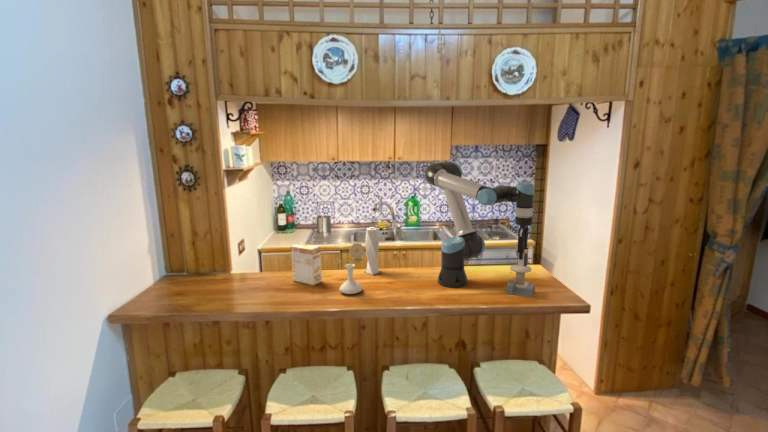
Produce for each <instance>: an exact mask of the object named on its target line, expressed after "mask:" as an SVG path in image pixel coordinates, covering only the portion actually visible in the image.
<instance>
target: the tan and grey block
mask: <svg viewBox="0 0 768 432" xmlns="http://www.w3.org/2000/svg"><path fill="white" fill-rule="evenodd" d="M516 253H517V254H518V252H517V251H516ZM528 256H529V249H528V250H526V249H525V250H524V266H528V263H529V262H528V259H529V257H528ZM516 260H517V262H516V265H517V266H518V257H517V259H516Z"/></svg>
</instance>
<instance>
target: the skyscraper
mask: <svg viewBox="0 0 768 432" xmlns="http://www.w3.org/2000/svg"><path fill="white" fill-rule="evenodd" d="M379 240H380V239H379V232H378V227H377V224H376V225H375V226H369V227H366V231H365V242H364V243H365V244H364V245H365V254H366V258H367V264H366V268H365V269H366V271H364V272H363V273H364V274H367V275H370V276H374V275H378V274H380V273H382V271H381V270H379V264H378V255H379V249H380V246H379V245H380V242H379Z"/></svg>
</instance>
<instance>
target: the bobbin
mask: <svg viewBox="0 0 768 432" xmlns="http://www.w3.org/2000/svg"><path fill="white" fill-rule="evenodd" d="M509 268H510V270H511V271H512V272H515V279H514V280H513V281H516V288H519V289H525V290H526V287H527V285H528V283H529V282H528V281H526V274H528V273H531V272H532V267H531V266H529V265H527V266H517V264H512V265H510V266H509Z"/></svg>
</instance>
